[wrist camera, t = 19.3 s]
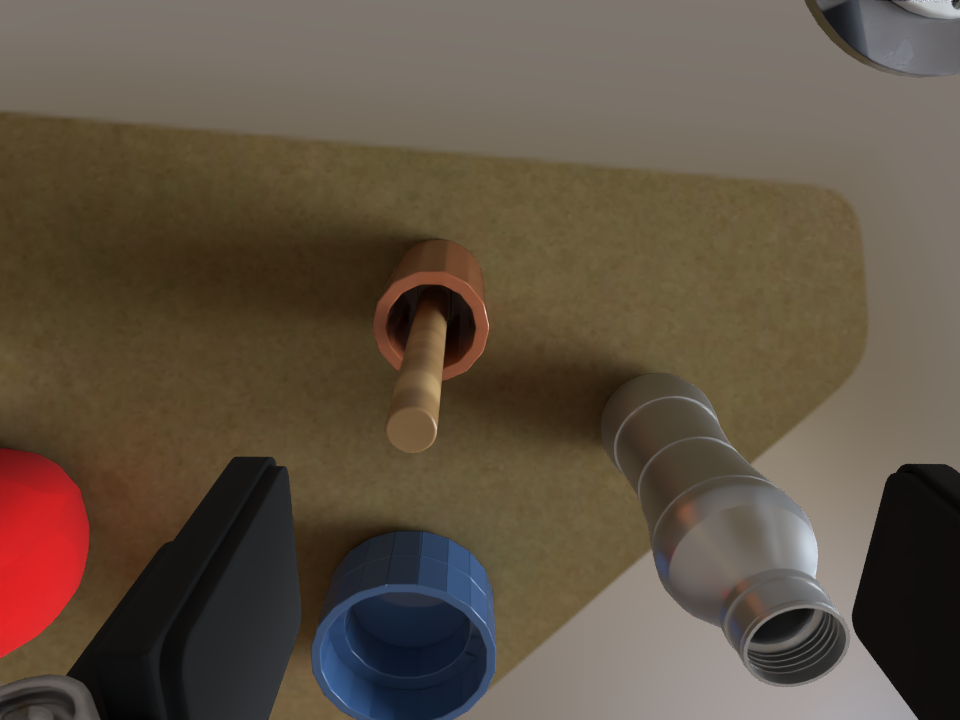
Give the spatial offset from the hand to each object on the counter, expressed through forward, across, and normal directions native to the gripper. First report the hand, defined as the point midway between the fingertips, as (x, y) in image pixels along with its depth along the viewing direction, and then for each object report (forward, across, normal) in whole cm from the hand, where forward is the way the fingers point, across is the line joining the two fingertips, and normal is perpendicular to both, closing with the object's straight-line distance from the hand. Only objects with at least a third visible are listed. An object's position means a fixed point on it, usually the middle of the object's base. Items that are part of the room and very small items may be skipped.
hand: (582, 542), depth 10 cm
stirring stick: (+28, +4, +3) cm, 29 cm away
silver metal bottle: (+29, -9, +11) cm, 33 cm away
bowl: (+29, +6, +25) cm, 38 cm away
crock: (+29, +4, +3) cm, 29 cm away
